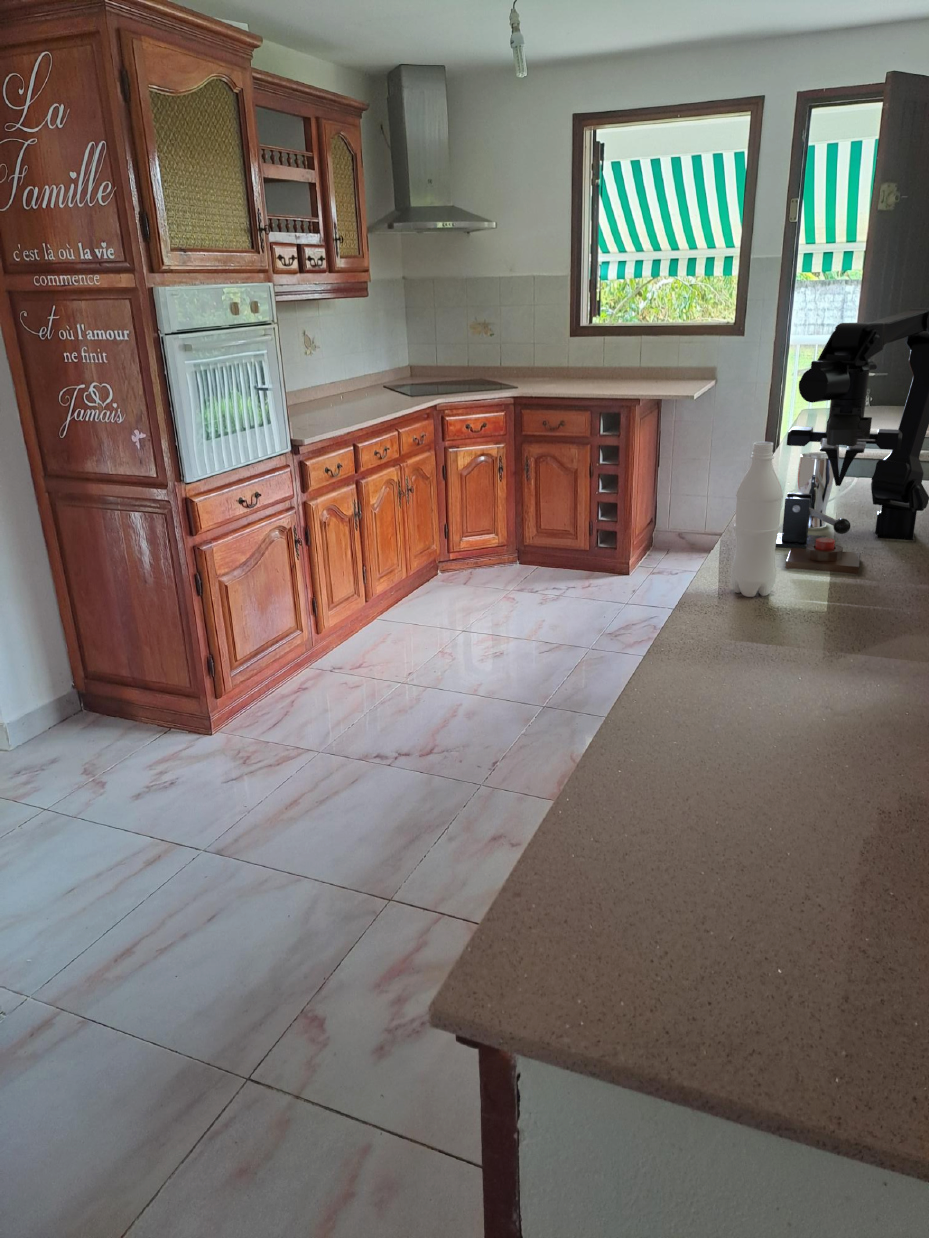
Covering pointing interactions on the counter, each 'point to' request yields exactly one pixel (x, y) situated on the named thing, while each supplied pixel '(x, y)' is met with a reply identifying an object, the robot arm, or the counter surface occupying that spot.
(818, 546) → the red push button
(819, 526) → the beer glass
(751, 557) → the water bottle
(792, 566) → the control block
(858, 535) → the counter surface
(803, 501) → the black lever housing
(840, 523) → the lever with ball knob
